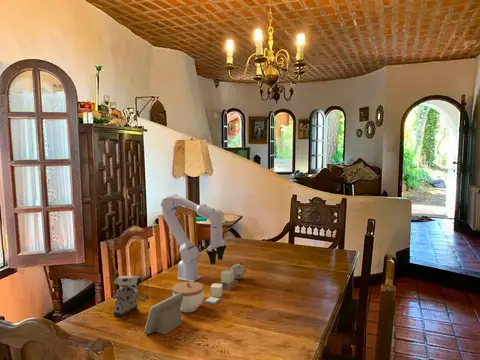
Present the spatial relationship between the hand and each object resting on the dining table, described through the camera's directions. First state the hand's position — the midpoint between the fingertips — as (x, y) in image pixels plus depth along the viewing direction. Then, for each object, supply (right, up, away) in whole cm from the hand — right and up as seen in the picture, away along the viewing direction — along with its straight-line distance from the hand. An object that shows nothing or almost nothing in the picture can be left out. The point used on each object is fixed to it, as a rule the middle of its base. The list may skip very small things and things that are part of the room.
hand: (216, 261), depth 173 cm
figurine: (-32, -13, -34) cm, 48 cm away
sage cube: (+6, -8, -6) cm, 11 cm away
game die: (+10, -10, +4) cm, 15 cm away
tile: (0, -12, -23) cm, 26 cm away
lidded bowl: (-10, -12, -30) cm, 34 cm away
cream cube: (+1, -11, -16) cm, 20 cm away
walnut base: (+6, -11, -6) cm, 14 cm away
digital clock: (-16, -13, -45) cm, 50 cm away
